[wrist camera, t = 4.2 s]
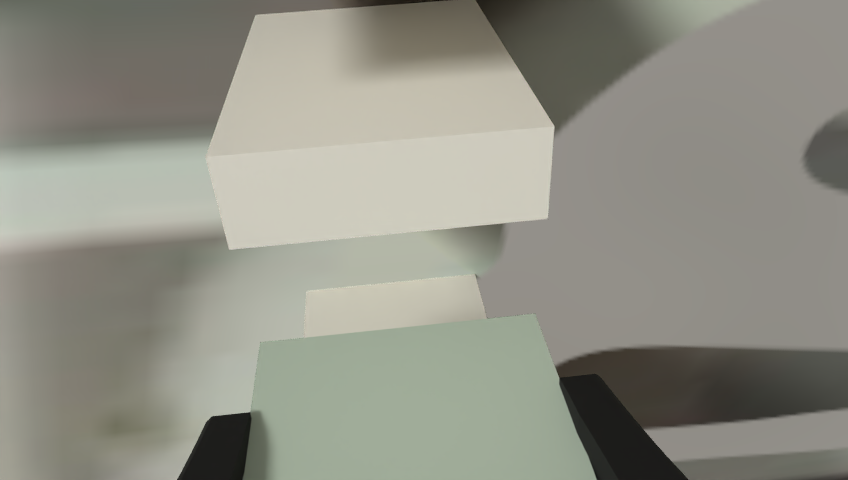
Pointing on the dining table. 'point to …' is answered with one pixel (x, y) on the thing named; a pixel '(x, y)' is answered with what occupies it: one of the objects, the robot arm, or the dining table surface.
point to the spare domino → (414, 406)
